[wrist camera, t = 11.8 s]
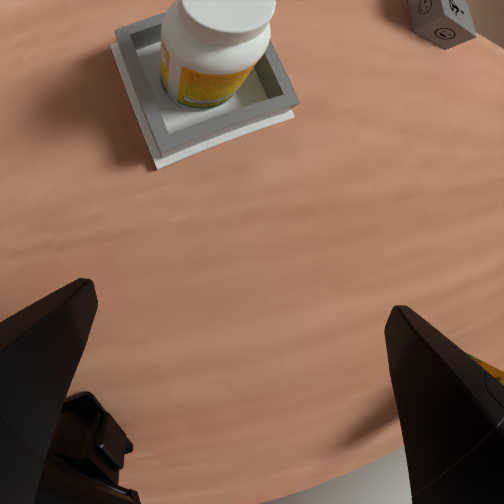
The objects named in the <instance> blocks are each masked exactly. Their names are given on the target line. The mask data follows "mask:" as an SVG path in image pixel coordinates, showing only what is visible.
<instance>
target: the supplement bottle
mask: <svg viewBox="0 0 504 504" xmlns="http://www.w3.org/2000/svg"><path fill="white" fill-rule="evenodd" d="M274 10H275V0H176V1H175V2H174V3H173V4H172V5H171V6H170V8H169V9H168V11H167V12H166V14H165V16H164V19H163V22H162V27H161V47H160V79H161V84H162V87H163V89H164V91H165V93H166V94H167V95H168V97H169V98H170V99H171V100H172V101H174V102H175V103H177V104H178V105H180V106H182V107H185V108H188V109H195V110H208V109H213V108H216V107H219V106H221V105H223V104H224V103H226V102H227V101H228V100H230V99H231V98H232V97H233V95H234V94H235V93H236V92H237V90H238V89H239V87H240V86H241V85H242V83H243V82H244V80H245V79H246V77H247V76H248V75H249V73H250V72H251V70H252V69H253V68H254V66H255V65H256V63H257V62H258V61H259V59H260V58H261V57H262V55H263V54H264V52H265V50H266V49H267V46H268V44H269V40H270V24H269V21H270V19H271V17H272V16H273V13H274Z"/></svg>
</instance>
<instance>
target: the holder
mask: <svg viewBox="0 0 504 504" xmlns="http://www.w3.org/2000/svg"><path fill="white" fill-rule="evenodd" d="M165 14H166V13H163V14H159V15H156V16H153V17H150V18H147V19H144V20H141V21H138V22H135V23H133V24H130V25H127V26H125V27H122V28H119V29H117V30H114V31H115V35H116V39H117V43H114V44H112V45H110V47H111V50H112V53H113V56H114V58H115V61H116V64H117V67H118V70H119V72H120V75H121V78H122V81H123V83H124V86H125V89H126V91H127V94H128V97H129V99H130V102H131V105H132V107H133V110H134V113H135V115H136V118H137V120H138V123H139V125H140V128H141V131H142V133H143V136H144V138H145V141H146V143H147V146H148V148H149V151H150V153H151V155H152V158H153V160H154V163H155V165H156V168H157V170H160V169H162V168H165V167H167V166H169V165H171V164H174V163H176V162H178V161H181V160H183V159H186V158H188V157H190V156H193V155H195V154H198V153H200V152H203V151H205V150H208V149H210V148H213V147H215V146H218V145H220V144H223V143H226V142H228V141H231V140H234V139H236V138H239V137H242V136H244V135H247V134H250V133H253V132H256V131H258V130H261V129H264V128H267V127H270V126H273V125H276V124H279V123H282V122H285V121H288V120H291V119H293V118H295V117H294V115H293V112H292V110H291V109H292V108H293V107H295V106H296V105H297V104H299V103H300V102H299V99H298V97H297V95H296V93H295V91H294V88H293V86H292V84H291V82H290V80H289V78H288V75H287V73H286V71H285V69H284V67H283V65H282V63H281V61H280V59H279V57H278V55H277V53H276V51H275V49H274V47H273V45H272V43H271V41H270V40H269V44H268V46H267V49H266V50H265V52H264V54H263V55H262V57H261V58H260V59H259V61H258V62H257V63H256V65H255V66H254V68H253V69H252V70H251V72H250V73H249V75H248V76H247V77H246V79H245V80H244V82H243V83H242V85H241V86H240V87H239V89H238V90H237V92H236V93H235V94H234V95H233V97H232V98H231V99H230V100H228V101H227V102H226V103H224V104H223V105H221V106H219V107H216V108H213V109H208V110H195V109H188V108H185V107H182V106H180V105H178V104H177V103H175V102H174V101H172V100H171V99H170V98H169V97H168V95H167V94H166V93H165V91H164V89H163V87H162V84H161V79H160V47H161V27H162V22H163V19H164V16H165Z"/></svg>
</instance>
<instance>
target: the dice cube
mask: <svg viewBox="0 0 504 504" xmlns="http://www.w3.org/2000/svg"><path fill="white" fill-rule="evenodd" d="M407 2H408V7H409V12H410V18H411V24H412V30H413V32H414V33H416V34H418V35H420V36H421V37H423V38H425V39H427V40H429V41H430V42H432V43H434V44H436V45H437V46H439V47H441V48H442V49H444V50H447V49H449V48H451V47H454V46H456V45H458V44H461V43H463V42H466V41H468V40H471V39H473V38H476V33H475V30H474V26H473V22H472V18H471V15H470V12H469V8H468V5H467V3H466V2H465V1H464V0H407Z"/></svg>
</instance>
